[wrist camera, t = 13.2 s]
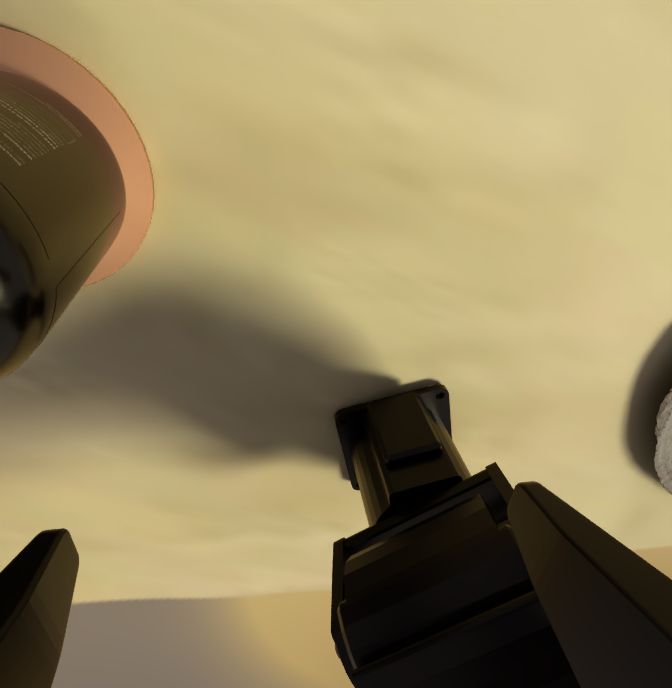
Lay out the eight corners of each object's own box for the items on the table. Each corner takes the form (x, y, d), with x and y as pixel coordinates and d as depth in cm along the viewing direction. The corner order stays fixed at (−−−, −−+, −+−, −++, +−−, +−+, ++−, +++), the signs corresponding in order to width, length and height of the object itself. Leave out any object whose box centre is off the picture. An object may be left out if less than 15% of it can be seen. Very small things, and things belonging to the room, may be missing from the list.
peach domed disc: (189, 257, 19) (187, 260, 19) (-22, 308, 19) (-27, 313, 18) (83, -6, 14) (79, -8, 14) (-205, 58, 14) (-216, 58, 13)
